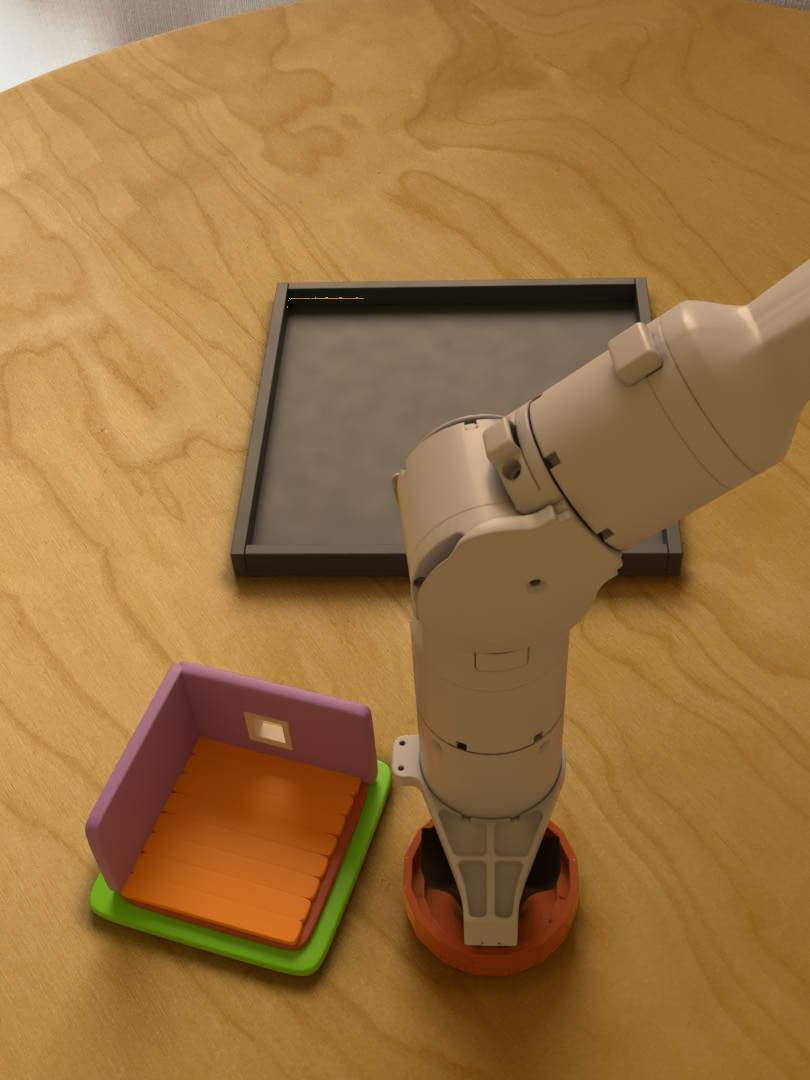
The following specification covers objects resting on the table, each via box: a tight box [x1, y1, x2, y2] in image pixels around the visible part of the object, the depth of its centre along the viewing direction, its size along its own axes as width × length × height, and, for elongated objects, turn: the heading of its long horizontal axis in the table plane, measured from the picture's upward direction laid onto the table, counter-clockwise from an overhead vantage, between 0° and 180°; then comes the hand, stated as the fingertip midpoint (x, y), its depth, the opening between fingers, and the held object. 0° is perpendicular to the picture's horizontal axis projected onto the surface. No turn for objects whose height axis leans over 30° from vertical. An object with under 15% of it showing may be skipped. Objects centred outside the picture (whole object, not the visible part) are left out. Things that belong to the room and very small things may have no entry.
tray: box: [229, 276, 684, 577], centre depth 85 cm, size 26×26×2 cm
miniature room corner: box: [84, 661, 393, 977], centre depth 63 cm, size 12×12×7 cm
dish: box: [402, 817, 580, 976], centre depth 62 cm, size 8×8×2 cm
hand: (490, 868), depth 61 cm, fingers closed on bottle, 4 cm apart
